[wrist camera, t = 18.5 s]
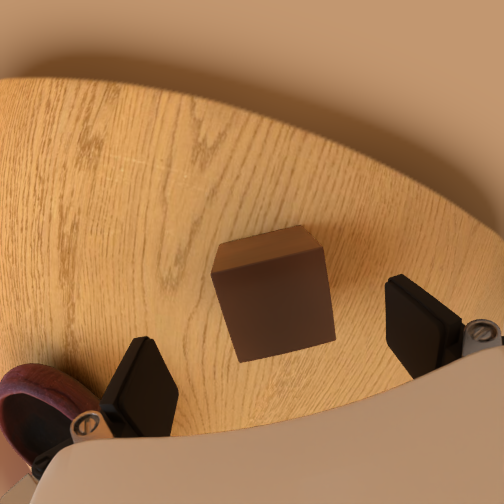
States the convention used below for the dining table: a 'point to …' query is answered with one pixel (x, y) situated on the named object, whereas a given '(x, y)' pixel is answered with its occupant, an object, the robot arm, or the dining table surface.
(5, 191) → the dining table surface
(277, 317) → the block
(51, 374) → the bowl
